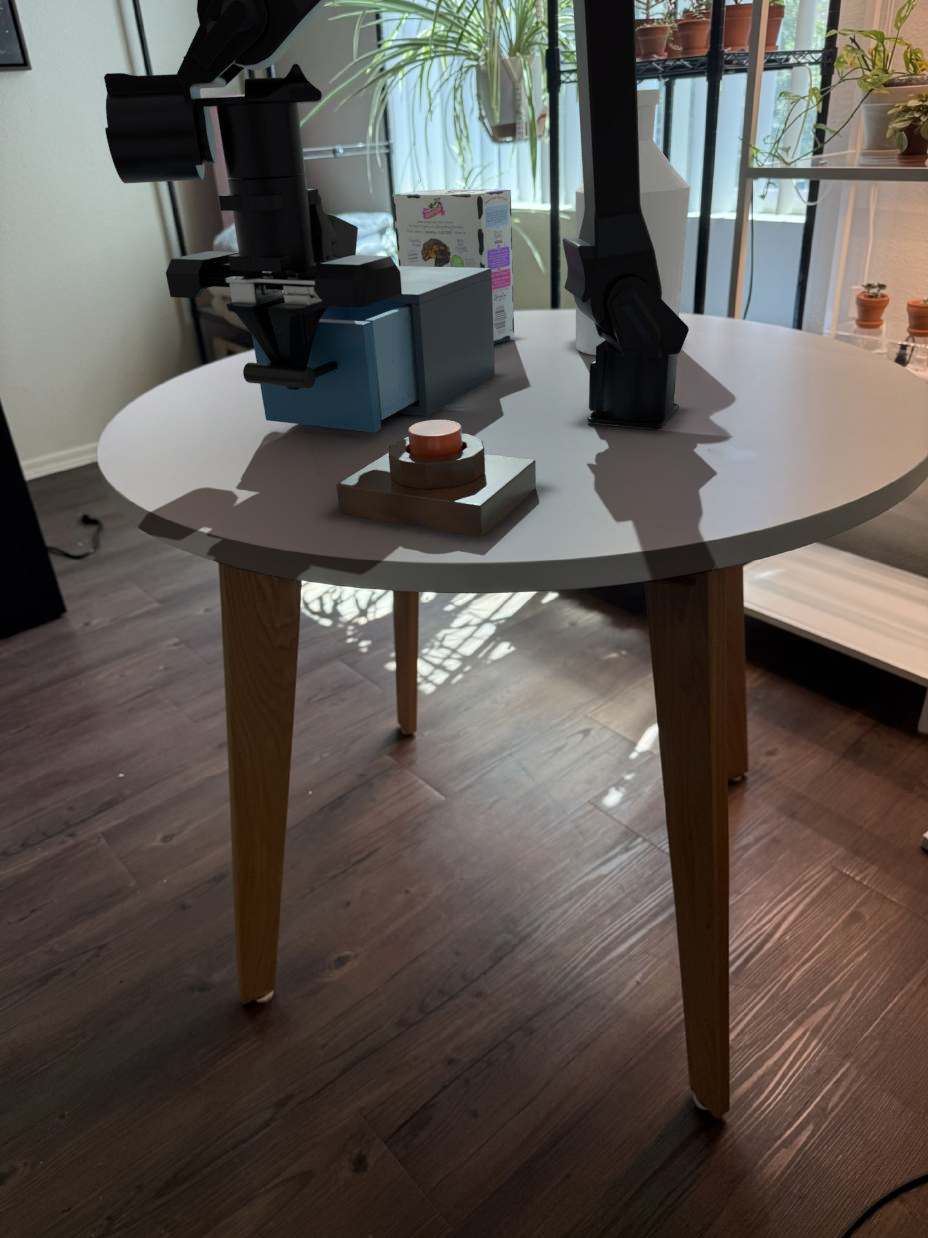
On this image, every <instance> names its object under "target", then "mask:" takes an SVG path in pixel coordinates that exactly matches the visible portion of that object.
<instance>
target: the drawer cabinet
mask: <svg viewBox="0 0 928 1238" xmlns="http://www.w3.org/2000/svg"><path fill="white" fill-rule="evenodd" d="M396 266H397V267H398V269H399V271H400V274H401V288H402V294H401V295H398V296H395V297H392V298H389V299H387V300H384V301H381V302H379V303H403V304H412V312H413V326H414V339H415V352H416V366H417V379H418V392H419V400H417V401H415V402H414V403H412V404H410V405H408V406H406V407H405V408H403V409H401V410H399V411H397V412H395V413H394V414H403V415H404V414H405V415H412V416H423V417H429V416H431V415H432V414H434V413H435V412H437V411H439V410H441V409H442V408H444V407H447V406H448V405H450V404H451V403H453V402H454V401H457V400H458V399H460V398H461V397H463V396H464V395H466V394H468V393H469V392H471V391H473V390H475V389H476V388H478V387H479V386H481V385H483V384H485V383H487V382H488V381H490V380H491V379H493V378H495V377H496V370H495V369H496V368H495V367H496V366H495V344H494V335H493V303H492V271H491V268H463V267H417V266H399V265H396Z"/></svg>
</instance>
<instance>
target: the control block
mask: <svg viewBox="0 0 928 1238" xmlns="http://www.w3.org/2000/svg"><path fill="white" fill-rule="evenodd" d="M536 465H537V464H536V460H535V459H529V458H520V457H513V456H504V455H497V454H487V453H485V446H484V441H483V440H482V439H481V438H479V437H476V436H474V435H471V434H469V433H462V451H461V452H460V453H457V454H453V455H450V456H446V457H433V458H428V457H419V456H413V455H411V454H410V445H409V436H407V437H403V438H400V439H398V440H397V441H395V442H393V443H392V444H390V445H389V446H388V452H387V453H385V454H384V455H383V456H381V457H379V458H377V459H376V460H374V461H372V462H371V463H369V464H368V465H366V466H364V467H363V468H361V469H359V470H358V471H356V472H354V473H353V474H352V475H350V476H348V477H347V478H345V479H343V480H342V481H340V482H337V483H336V486H335V487H336V494H337V502H338V508H339V510H338V511H339V514H341V515H344V516H345V515H346V516H351V517H357V518H364V519H371V520H376V521H383V522H388V523H395V524H400V525H407V526H413V527H420V528H425V529H432V530H439V531H445V532H451V533H455V534H456V533H457V534H463V535H468V536H475V537H480V538H481V537H484V536H485V535H486V534H487V533H489V531H490V530H491V529H493V528H494V527H495V526H496V525H497V524H498V523H499V522H501V521H502V520H503V519H504V518H505V517H506V516H507V515H508V514H509V513H511V511H512V510H514V509H515V508H516V507H517V506H518V505H520V503H522V502H523V501H524V500H525V499H526V498H527V497H528V496H530V495H531V493H532V492H534V491H535V490H536V488H537V481H536V480H537V477H536V476H537V473H536V471H537V470H536Z"/></svg>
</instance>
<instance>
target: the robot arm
mask: <svg viewBox="0 0 928 1238" xmlns="http://www.w3.org/2000/svg"><path fill="white" fill-rule="evenodd" d="M328 1H329V0H197V1H196V13H197V19H198V23H199V26H198V28H197V29H196V32H195V34H194V36H193V37H192V40H191V42H190V45H189V46H188V49H187V51H186V53H185V55H183V57H182V58H183V60H182V62H181V64H180V66H179V68H178V70H177V72H176V73H175V74H174V73H173V74H171V73H170V74H145V75H135V74H129V73H125V72H113V73H112V72H111V73H109V72H107V73H105V74H104V76H103V79H104V85H105V90H106V98H105V115H106V125H107V127H104V130H105V131H104V132H105V136H106V137H105V138H106V141H107V145H108V150H109V154H110V157H111V160H112V163H113V166H114V169H115V172H116V173H117V176H118V178H119V179H120V181H121V182H122V183H124V184H140V183H141V184H142V183H161V182H162V183H164V182H181V181H182V182H183V181H201V180H202V181H203V180H204V179H205V172H206V170H205V168H206V167H205V166H206V165H205V164H209V165H211V164H212V165H214V164H216V163H217V158H218V155H217V144H216V136H215V130H214V124H213V119H212V114H211V108H216V114H217V121H218V127H219V133H220V140H221V147H222V153H223V159H224V165H225V173H226V178H227V185H228V194H220V195H218V202H219V209H220V212H232V218H233V223H234V230H235V237H236V243H237V250H238V251H218V250H217V251H215V250H214V251H213V250H207V251H203V252H197V253H194V254H188V255H183V256H179V257H173V258H171V259H170V261H169V264H168V266H167V268H166V271H165V277H166V282H167V287H168V293H169V296H170V297H169V298H181V299H198V298H201V296H202V295H203V293H204V291H205V290H206V289H208V288H214V287H215V288H229V292H230V297H231V298H230V299H231V302H228V303H226V304H225V308H226V311H227V312H229V313H235V315H236V316H237V318H238V319H239V320H240V321H241V323H242V325H244V326H245V328H246V329H247V330H248V332H249V333H250V335H251V336H253V337H254V338H255V340H256V341H257V342H258V344H259V345H260V347H261V348H262V350H263V351H264V353H265V354H266V356H267V357H268V359H269V361H270V362H271V364H275V365H287V366H300V367H307V365H308V361H309V356H310V352H311V346H312V342H313V338H314V335H315V332H316V329H317V326H318V323H319V320H320V318H321V317H322V315H323V314H324V312H325V311H326V309H327V308H328V307H330V306H339V307H365V306H369V305H372V304H375V303H378V302H381V301H384V300H387V299H389V298H392V297H395V296H398V295H401V294H402V288H401V274H400V271H399V269H398V267H397V266H398V265H397V263H395V261H394V260H393V258H392V257H391V255H362V254H360V255H358V254H357V245H358V233H359V228H358V226H356V225H355V224H353V223H350V222H348V221H347V220H345V219H343V218H340V217H338V216H336V215H333V214H330V213H326V212H324V209H323V203H322V196H321V195H320V193H319V189H318V188H308V181H307V174H306V173H307V171H306V163H305V156H304V155H305V154H304V146H303V136H302V130H301V121H300V120H301V119H300V112H299V104H319V103H322V101H323V100H324V94H323V92H322V91H321V89H319V88H318V87H316V86H315V85H314V84H313V83H312V82H311V81H310V80H309V79H308V77H307V75H305V73H304V71H303V69H302V67H301V66H300V64H298V63H293V64H292V65H291V68H290V70H289V71H288V73H287V74H286V76H280V77H279V76H278V77H277V76H276V77H254V78H245V79H244V83H243V85H244V86H243V87H244V89H243V90H244V91H243V92H244V95H238V96H221V97H202V95H201V89H220V88H221V89H222V88H225V87H227V86H228V85H229V84H230V83H231V82H233V80H235V78H237V77H238V76H239V75H240V74H241V73H242V72H243V71H244V70H246V69H247V70H250V71H260V70H265V69H267V68H269V67H271V66H273V65H275V64H276V63H277V62H278V61H280V59H281V58H282V57H283V56H284V55H285V54H286V53H287V52H288V50H289V49H290V48H291V46H292V45H293V44H294V43H295V42H296V41H297V40H298V39H299V38H300V36H301V35H302V34H303V33H304V32H305V30H306V29H307V28H308V27H309V25H310V24H311V23H312V22H313V20H314V19H315V18H316V16H317V15H318V14H319V12H320V11H321V10H322V9H323V8H324V6H325V5H326V3H327V2H328ZM572 8H573V26H574V43H575V44H574V45H575V61H576V77H577V79H576V80H577V95H578V110H579V111H578V114H579V133H580V148H581V162H582V163H581V167H582V179H583V180H582V183H583V185H584V203H585V209H584V217H583V221H582V226H581V230H580V235H579V238H576V237H564V238H562V246H563V251H564V256H565V261H566V266H567V273H566V280H565V284H564V287H563V288H564V289H565V291H567V292H568V293H570V294H571V295H573V299H574V304H575V306H576V305H577V307H578V308H579V309H580V311H581V312H582V313H584V314H585V315H586V316H587V317H588V318H590V319H591V320H592V321H593V322H594V324H595V327H596V330H597V333H598V335H599V336H600V337H602V338H604V339H605V341H603V342H602V343H600V344H599V345H597V346H596V355H595V360H593V361H592V362H591V363H590V364H589V375H588V376H589V378H588V380H589V383H588V409H589V410H590V411H591V413H590V414H589V415H587V421H586V422H587V423H589V424H595V425H597V424H598V425H604V426H605V425H607V426H617V427H627V428H635V429H636V428H638V429H649V430H661V429H662V428H663V427H664V426H666V424H667V423H668V422H669V421H670V420H671V419H672V418H673V417H674V416H675V414H677V412H679V410H680V404H679V403H677V402H675V398H676V397H675V395H676V381H677V369H678V368H677V367H678V356H679V355H678V354H680V353H681V351H682V349H683V346H684V343H685V341H686V339H687V336H688V334H689V332H690V331H689V330H690V328H689V326H688V325H687V324H686V323H685V322H684V321H683V319H682V318H680V316H679V317H678V316H677V315H676V314H675V313H674V311H673V310H672V309H671V308H670V307H669V306H668V305H667V304H666V303H665V302H664V301H663V300H662V299H661V298H662V287H661V282H660V276H659V271H658V266H657V260H656V255H655V250H654V247H653V244H652V241H651V238H650V235H649V232H648V229H647V226H646V222H645V219H644V216H643V213H642V209H641V204H640V173H639V137H638V101H637V90H638V71H637V70H638V69H637V67H638V66H637V34H636V33H637V32H636V31H637V29H636V2H635V0H572ZM286 387H287V388H288V389H291V390H298V389H300V387H289V386H286ZM590 411H589V412H590Z"/></svg>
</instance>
